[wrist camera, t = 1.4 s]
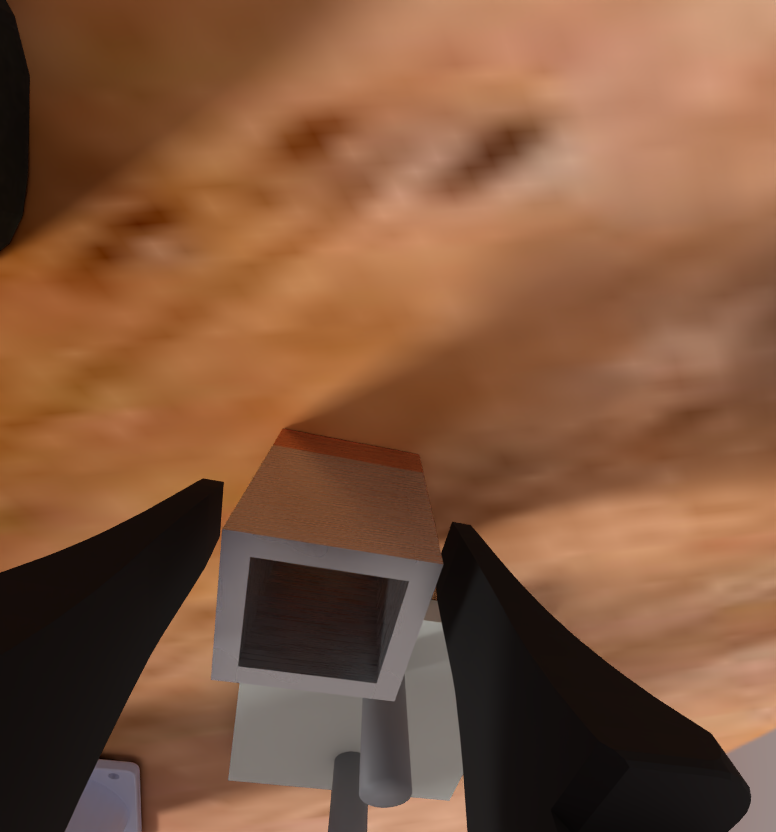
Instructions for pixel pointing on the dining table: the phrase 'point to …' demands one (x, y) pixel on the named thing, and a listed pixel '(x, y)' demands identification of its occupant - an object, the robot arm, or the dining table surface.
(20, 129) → the sushi
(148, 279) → the dining table surface
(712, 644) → the dining table surface
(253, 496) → the sleeve
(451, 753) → the pin board
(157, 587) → the robot arm
